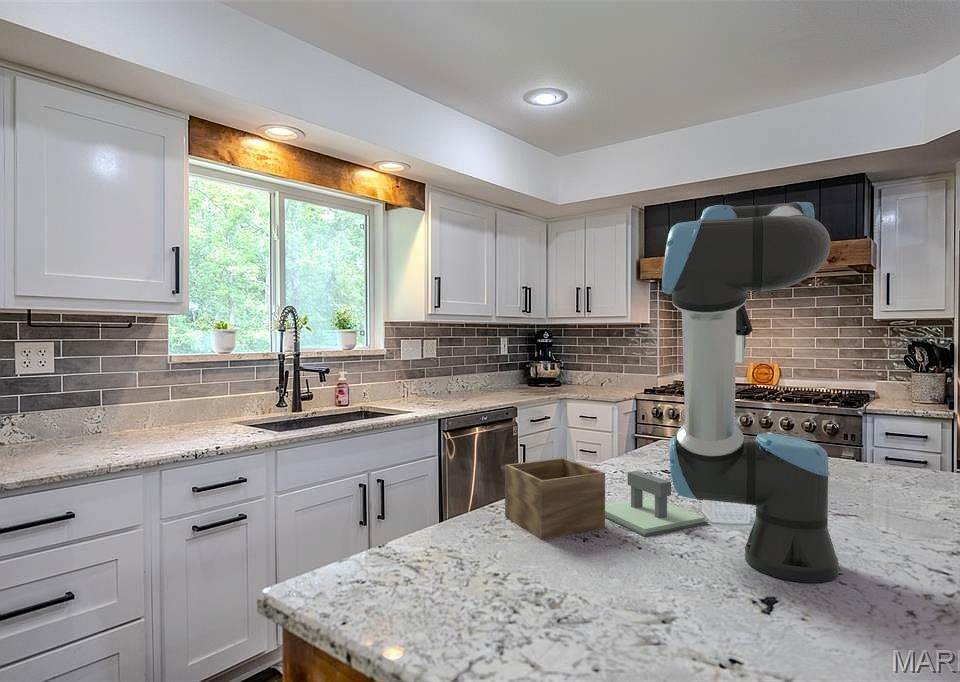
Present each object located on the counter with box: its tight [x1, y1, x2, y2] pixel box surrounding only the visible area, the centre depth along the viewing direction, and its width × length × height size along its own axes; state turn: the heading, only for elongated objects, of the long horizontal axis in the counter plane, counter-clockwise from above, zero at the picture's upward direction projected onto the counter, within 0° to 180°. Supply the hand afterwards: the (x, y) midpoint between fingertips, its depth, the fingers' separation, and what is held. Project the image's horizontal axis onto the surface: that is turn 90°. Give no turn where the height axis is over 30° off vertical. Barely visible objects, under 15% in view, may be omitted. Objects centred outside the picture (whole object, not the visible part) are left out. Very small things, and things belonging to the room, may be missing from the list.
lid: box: [605, 470, 706, 534], centre depth 135 cm, size 17×17×9 cm
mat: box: [605, 515, 709, 538], centre depth 135 cm, size 18×18×1 cm
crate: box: [504, 457, 606, 540], centre depth 132 cm, size 16×16×12 cm
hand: (717, 363), depth 141 cm, fingers open, 13 cm apart
